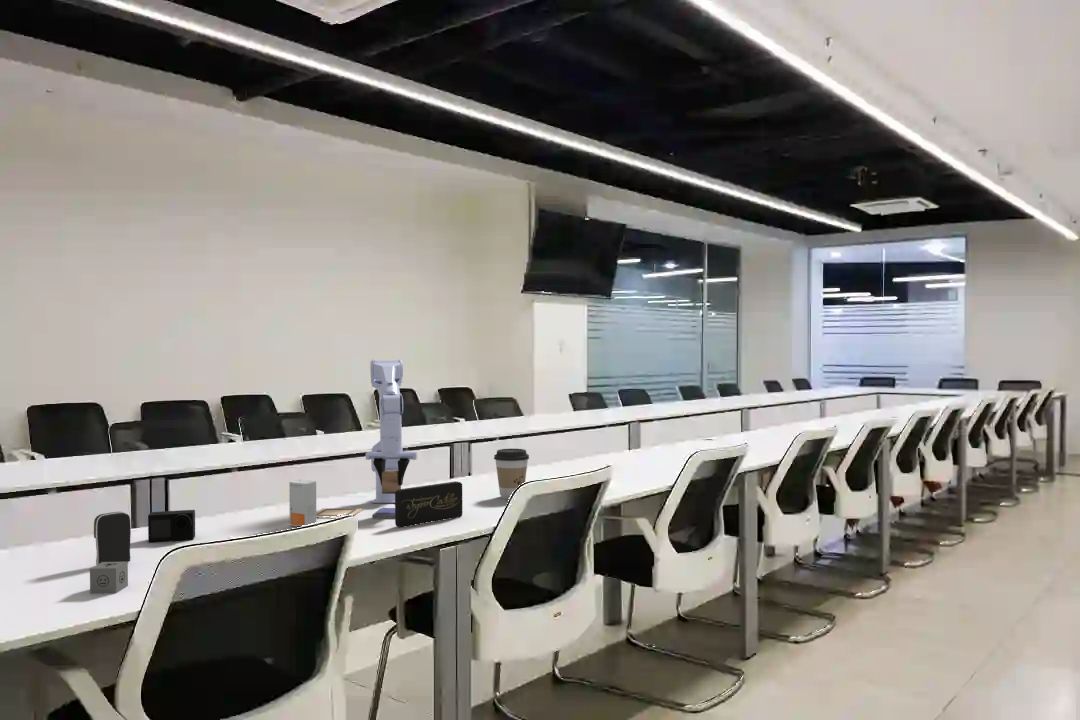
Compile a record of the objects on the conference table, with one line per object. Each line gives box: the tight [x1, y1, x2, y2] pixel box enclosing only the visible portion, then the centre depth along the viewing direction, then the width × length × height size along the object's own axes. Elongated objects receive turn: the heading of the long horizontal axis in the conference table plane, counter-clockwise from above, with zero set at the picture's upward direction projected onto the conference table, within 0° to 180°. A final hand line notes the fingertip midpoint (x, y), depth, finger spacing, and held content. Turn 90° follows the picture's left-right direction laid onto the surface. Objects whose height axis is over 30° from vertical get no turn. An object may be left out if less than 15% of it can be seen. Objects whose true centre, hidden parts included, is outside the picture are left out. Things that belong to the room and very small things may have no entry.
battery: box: [93, 511, 132, 566], centre depth 182 cm, size 7×4×11 cm, turn 137°
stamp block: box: [382, 470, 402, 494], centre depth 234 cm, size 4×4×6 cm
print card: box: [316, 507, 363, 517], centre depth 236 cm, size 12×12×1 cm
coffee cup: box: [493, 448, 530, 500], centre depth 261 cm, size 11×11×15 cm
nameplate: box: [394, 481, 463, 528], centre depth 225 cm, size 21×2×10 cm, turn 132°
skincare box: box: [288, 479, 317, 528], centre depth 220 cm, size 6×4×12 cm
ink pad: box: [371, 507, 395, 519], centre depth 234 cm, size 9×9×1 cm
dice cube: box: [89, 562, 129, 595], centre depth 163 cm, size 5×5×5 cm
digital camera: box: [147, 509, 196, 544], centre depth 205 cm, size 10×5×7 cm, turn 106°
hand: (391, 484), depth 234 cm, fingers closed on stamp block, 4 cm apart
